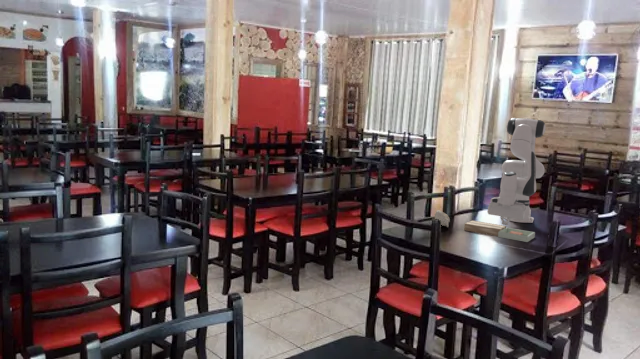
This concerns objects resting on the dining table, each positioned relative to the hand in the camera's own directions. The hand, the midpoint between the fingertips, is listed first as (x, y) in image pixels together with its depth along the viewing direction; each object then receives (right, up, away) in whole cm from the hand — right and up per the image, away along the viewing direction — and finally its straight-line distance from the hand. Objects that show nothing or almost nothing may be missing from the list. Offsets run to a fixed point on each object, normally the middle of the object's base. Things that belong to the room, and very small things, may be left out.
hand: (504, 224), depth 311 cm
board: (-9, -5, +7) cm, 12 cm away
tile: (+5, -4, -4) cm, 8 cm away
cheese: (-38, -4, +6) cm, 39 cm away
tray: (+5, -7, -3) cm, 9 cm away
